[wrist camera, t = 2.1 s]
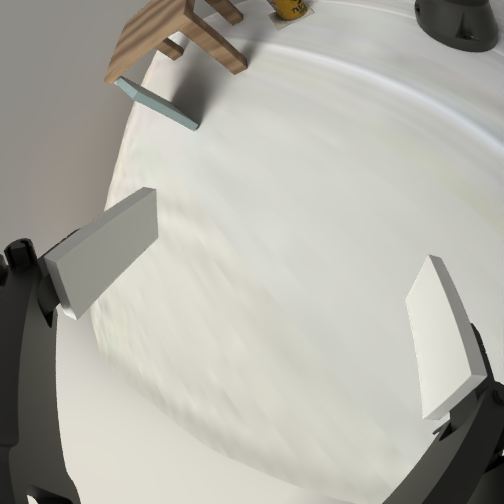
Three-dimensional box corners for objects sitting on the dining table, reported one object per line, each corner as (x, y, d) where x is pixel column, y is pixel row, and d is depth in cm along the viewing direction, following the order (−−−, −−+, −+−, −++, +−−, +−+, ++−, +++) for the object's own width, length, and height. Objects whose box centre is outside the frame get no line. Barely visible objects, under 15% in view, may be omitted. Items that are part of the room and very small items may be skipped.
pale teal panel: (169, 101, 57) (118, 74, 44) (199, 123, 50) (138, 90, 37) (164, 108, 57) (113, 82, 45) (193, 132, 50) (131, 100, 38)
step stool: (175, 53, 60) (125, 23, 45) (242, 14, 49) (194, -30, 34) (167, 112, 57) (103, 80, 42) (247, 68, 46) (183, 14, 31)
